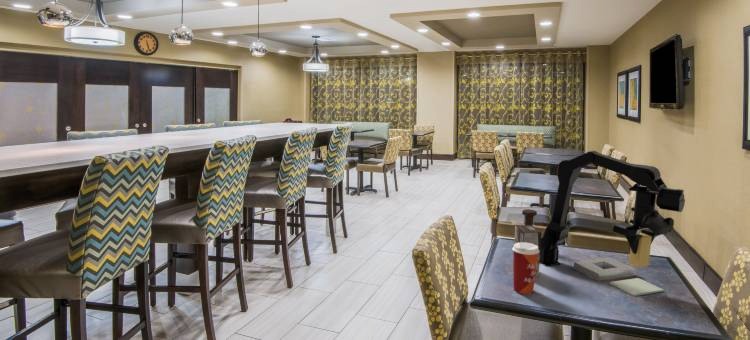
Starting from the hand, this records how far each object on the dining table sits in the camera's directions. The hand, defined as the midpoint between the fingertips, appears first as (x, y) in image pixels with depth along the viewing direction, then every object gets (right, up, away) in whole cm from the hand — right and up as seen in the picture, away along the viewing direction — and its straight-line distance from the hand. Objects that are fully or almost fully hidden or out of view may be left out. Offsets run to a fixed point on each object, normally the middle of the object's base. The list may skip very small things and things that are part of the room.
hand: (639, 252), depth 156 cm
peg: (0, -4, +1) cm, 4 cm away
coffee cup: (-38, -12, -1) cm, 40 cm away
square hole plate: (-4, -9, +15) cm, 18 cm away
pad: (0, -12, +2) cm, 12 cm away
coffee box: (-33, -10, +14) cm, 37 cm away
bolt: (-23, -5, +42) cm, 48 cm away
